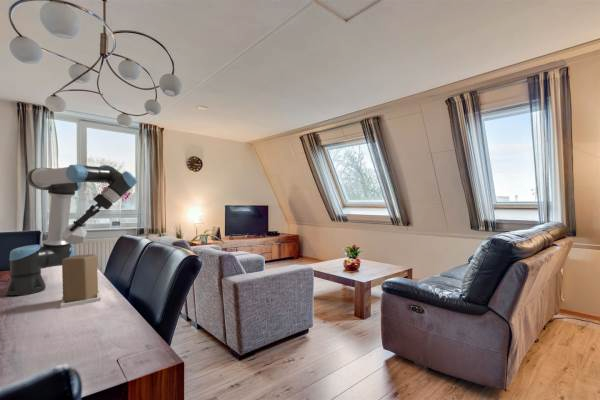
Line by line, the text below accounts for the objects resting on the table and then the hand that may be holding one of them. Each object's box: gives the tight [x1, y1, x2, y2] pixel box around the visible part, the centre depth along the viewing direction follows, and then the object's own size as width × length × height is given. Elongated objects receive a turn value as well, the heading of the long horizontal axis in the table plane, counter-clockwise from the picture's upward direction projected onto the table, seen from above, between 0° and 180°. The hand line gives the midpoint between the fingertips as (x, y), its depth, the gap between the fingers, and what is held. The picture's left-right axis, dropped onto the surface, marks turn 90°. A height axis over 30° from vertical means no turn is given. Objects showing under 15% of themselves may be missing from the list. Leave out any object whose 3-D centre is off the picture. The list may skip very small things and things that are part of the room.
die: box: [62, 226, 88, 245], centre depth 135 cm, size 8×9×10 cm
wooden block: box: [61, 253, 99, 303], centre depth 138 cm, size 10×10×20 cm
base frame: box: [60, 290, 102, 309], centre depth 138 cm, size 14×14×2 cm
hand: (64, 235), depth 132 cm, fingers closed on die, 8 cm apart
